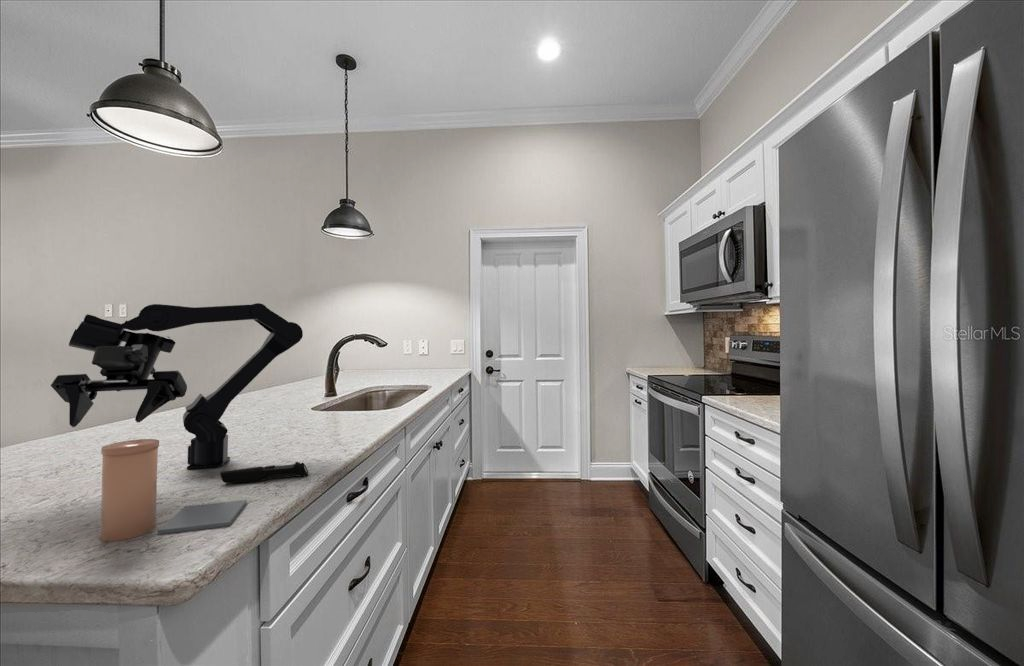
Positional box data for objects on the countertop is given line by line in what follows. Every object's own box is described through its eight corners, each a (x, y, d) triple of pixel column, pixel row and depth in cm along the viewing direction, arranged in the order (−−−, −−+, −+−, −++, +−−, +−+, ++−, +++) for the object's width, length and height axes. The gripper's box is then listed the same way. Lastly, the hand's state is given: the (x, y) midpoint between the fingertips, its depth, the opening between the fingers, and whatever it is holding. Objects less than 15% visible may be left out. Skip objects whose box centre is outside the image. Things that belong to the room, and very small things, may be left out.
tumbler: (165, 519, 64) (167, 437, 64) (143, 538, 58) (146, 448, 58) (115, 525, 62) (117, 440, 62) (87, 544, 56) (90, 451, 56)
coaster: (246, 503, 70) (246, 499, 71) (229, 525, 62) (229, 521, 62) (184, 509, 68) (184, 506, 68) (157, 534, 59) (157, 530, 59)
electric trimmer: (222, 483, 81) (222, 468, 81) (308, 472, 88) (308, 458, 88) (218, 490, 78) (218, 473, 78) (307, 478, 84) (307, 463, 84)
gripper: (57, 331, 74) (7, 400, 64) (179, 330, 80) (152, 393, 70) (86, 370, 82) (46, 437, 71) (196, 366, 88) (174, 428, 78)
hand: (105, 423), depth 72 cm, fingers open, 9 cm apart
